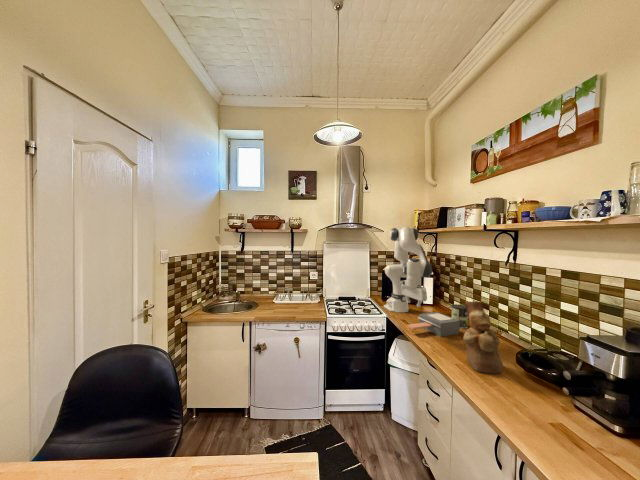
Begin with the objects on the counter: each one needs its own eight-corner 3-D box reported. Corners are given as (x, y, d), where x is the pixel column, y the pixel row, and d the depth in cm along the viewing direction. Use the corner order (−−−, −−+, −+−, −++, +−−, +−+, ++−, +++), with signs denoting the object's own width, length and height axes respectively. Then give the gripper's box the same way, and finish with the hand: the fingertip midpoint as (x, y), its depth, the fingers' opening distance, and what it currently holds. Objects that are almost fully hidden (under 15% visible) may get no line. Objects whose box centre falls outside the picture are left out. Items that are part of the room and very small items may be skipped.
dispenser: (417, 326, 174) (418, 314, 174) (436, 323, 180) (436, 311, 180) (439, 337, 156) (439, 323, 156) (459, 333, 162) (459, 320, 162)
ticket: (407, 326, 163) (407, 324, 163) (431, 323, 170) (431, 321, 170) (413, 329, 158) (413, 327, 158) (437, 326, 165) (437, 324, 165)
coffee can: (468, 325, 177) (469, 306, 177) (466, 329, 169) (467, 309, 169) (452, 322, 183) (452, 303, 183) (449, 326, 175) (450, 306, 175)
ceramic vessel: (473, 373, 115) (474, 309, 114) (454, 351, 137) (455, 297, 136) (510, 376, 113) (512, 311, 112) (485, 354, 134) (486, 299, 134)
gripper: (429, 286, 152) (429, 308, 152) (407, 280, 171) (406, 300, 171) (421, 287, 150) (421, 309, 150) (399, 280, 169) (399, 301, 169)
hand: (413, 304), depth 161 cm, fingers open, 8 cm apart
